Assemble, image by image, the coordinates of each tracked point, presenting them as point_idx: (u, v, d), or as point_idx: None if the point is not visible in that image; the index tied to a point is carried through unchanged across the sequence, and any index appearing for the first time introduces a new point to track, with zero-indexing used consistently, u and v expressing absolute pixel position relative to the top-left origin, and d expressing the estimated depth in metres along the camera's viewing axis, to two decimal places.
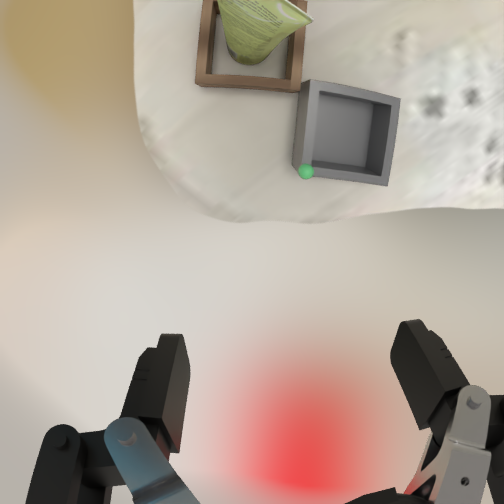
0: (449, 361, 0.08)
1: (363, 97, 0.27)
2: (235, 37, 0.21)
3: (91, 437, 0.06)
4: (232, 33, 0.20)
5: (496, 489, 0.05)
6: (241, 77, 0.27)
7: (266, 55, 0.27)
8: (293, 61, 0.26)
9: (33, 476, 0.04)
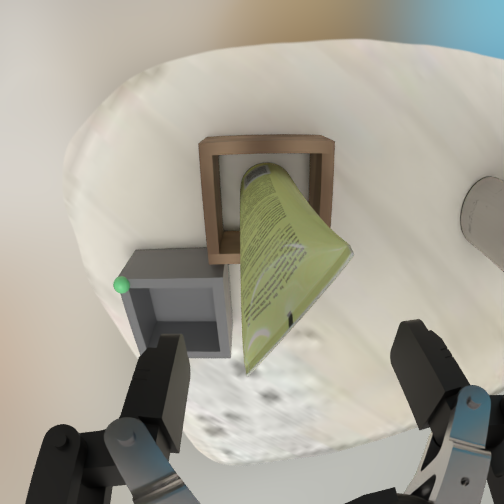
0: (449, 361, 0.08)
1: (218, 327, 0.29)
2: (251, 212, 0.19)
3: (91, 437, 0.06)
4: (255, 210, 0.19)
5: (496, 489, 0.05)
6: (212, 199, 0.24)
7: None
8: None
9: (33, 476, 0.04)
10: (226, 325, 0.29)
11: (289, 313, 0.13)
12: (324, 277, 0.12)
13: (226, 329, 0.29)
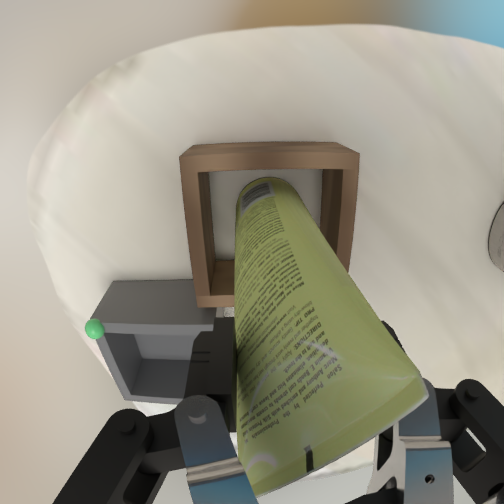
0: None
1: None
2: (250, 259, 0.14)
3: (156, 420, 0.07)
4: (256, 258, 0.13)
5: (467, 483, 0.05)
6: (199, 229, 0.19)
7: None
8: None
9: (86, 454, 0.05)
10: None
11: (308, 448, 0.07)
12: (371, 417, 0.06)
13: None
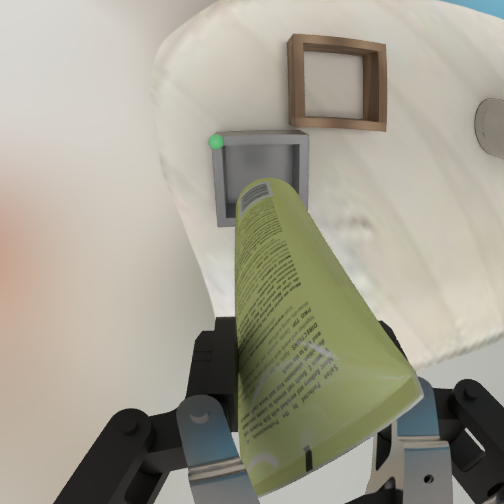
0: None
1: (300, 187, 0.33)
2: (249, 261, 0.14)
3: (158, 420, 0.07)
4: (254, 260, 0.13)
5: (466, 483, 0.05)
6: (302, 73, 0.28)
7: None
8: (323, 119, 0.30)
9: (88, 454, 0.05)
10: (307, 184, 0.32)
11: (307, 448, 0.07)
12: (367, 417, 0.06)
13: (307, 189, 0.33)
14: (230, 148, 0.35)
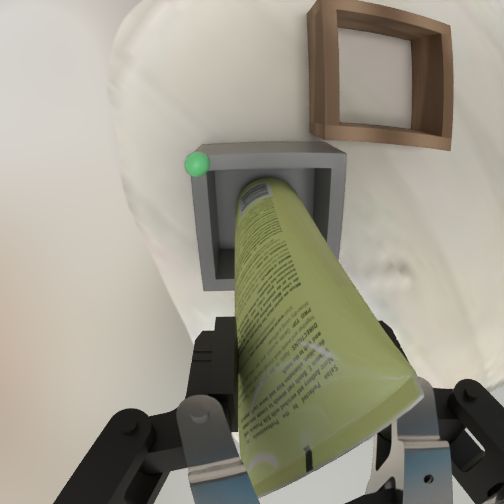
0: None
1: (329, 234, 0.21)
2: (248, 261, 0.14)
3: (158, 420, 0.07)
4: (254, 260, 0.13)
5: (466, 483, 0.05)
6: (335, 55, 0.16)
7: None
8: (367, 128, 0.19)
9: (88, 454, 0.05)
10: (340, 230, 0.21)
11: (307, 448, 0.07)
12: (367, 417, 0.06)
13: (339, 237, 0.21)
14: None
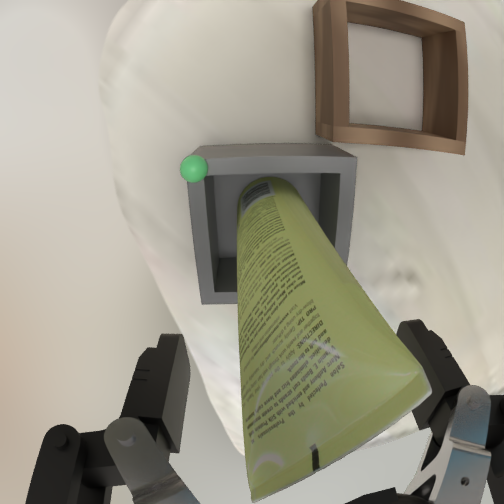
0: (449, 361, 0.08)
1: (336, 244, 0.20)
2: (251, 259, 0.14)
3: (91, 437, 0.06)
4: (257, 258, 0.13)
5: (496, 489, 0.05)
6: (345, 50, 0.15)
7: None
8: (379, 130, 0.17)
9: (33, 476, 0.04)
10: (348, 240, 0.19)
11: (313, 447, 0.07)
12: (375, 415, 0.06)
13: (347, 247, 0.20)
14: None
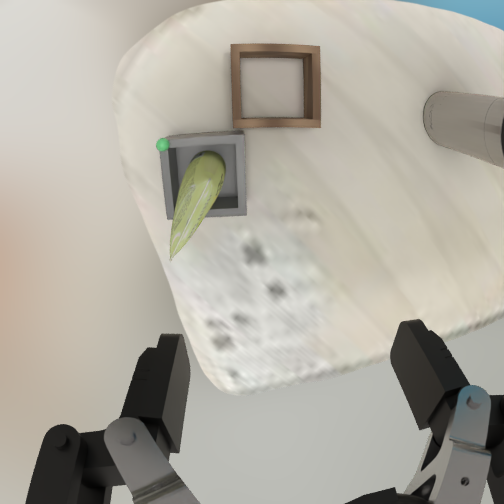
0: (449, 361, 0.08)
1: (238, 181, 0.36)
2: (183, 178, 0.30)
3: (91, 437, 0.06)
4: (185, 176, 0.30)
5: (495, 489, 0.05)
6: (238, 79, 0.32)
7: None
8: (259, 119, 0.34)
9: (33, 476, 0.04)
10: (244, 179, 0.36)
11: (187, 219, 0.24)
12: (200, 196, 0.23)
13: (244, 183, 0.37)
14: (180, 149, 0.39)
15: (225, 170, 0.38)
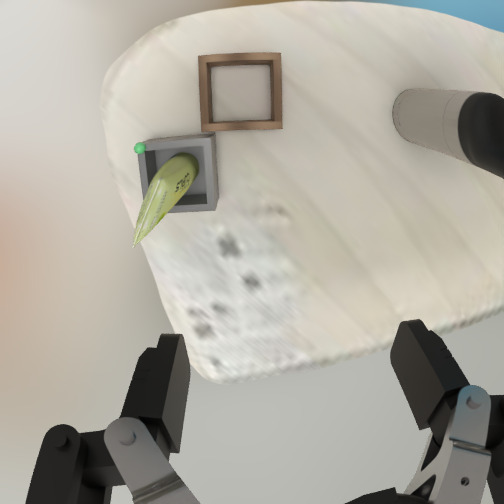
0: (449, 361, 0.08)
1: (206, 180, 0.40)
2: None
3: (91, 437, 0.06)
4: None
5: (496, 489, 0.05)
6: (205, 88, 0.35)
7: None
8: (224, 123, 0.38)
9: (33, 476, 0.04)
10: (212, 177, 0.40)
11: (146, 212, 0.27)
12: (154, 192, 0.26)
13: (212, 181, 0.40)
14: (158, 151, 0.43)
15: (197, 170, 0.42)
